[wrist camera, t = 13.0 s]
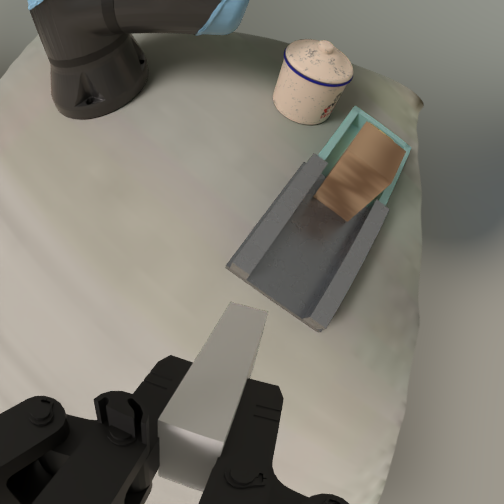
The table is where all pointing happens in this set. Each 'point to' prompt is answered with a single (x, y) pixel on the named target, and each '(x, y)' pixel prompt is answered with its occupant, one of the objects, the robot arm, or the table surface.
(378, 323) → the table surface
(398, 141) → the tray
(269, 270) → the slot board
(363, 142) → the block
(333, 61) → the teacup with lid
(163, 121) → the table surface
